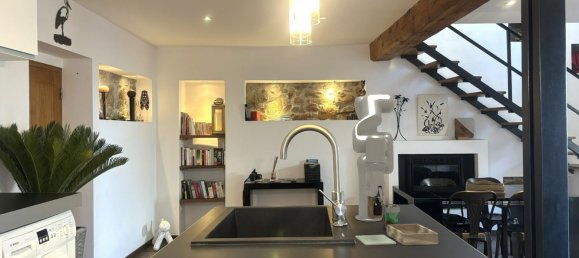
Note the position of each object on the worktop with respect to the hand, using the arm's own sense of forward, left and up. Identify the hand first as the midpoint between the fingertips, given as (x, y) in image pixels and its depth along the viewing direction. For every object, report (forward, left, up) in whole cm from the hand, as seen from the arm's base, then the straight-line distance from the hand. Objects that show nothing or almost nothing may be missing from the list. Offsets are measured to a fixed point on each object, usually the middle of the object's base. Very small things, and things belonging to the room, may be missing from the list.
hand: (375, 213), depth 157 cm
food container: (-18, +15, -11) cm, 26 cm away
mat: (0, 0, -10) cm, 10 cm away
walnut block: (0, 0, -1) cm, 1 cm away
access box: (0, +15, -10) cm, 18 cm away
